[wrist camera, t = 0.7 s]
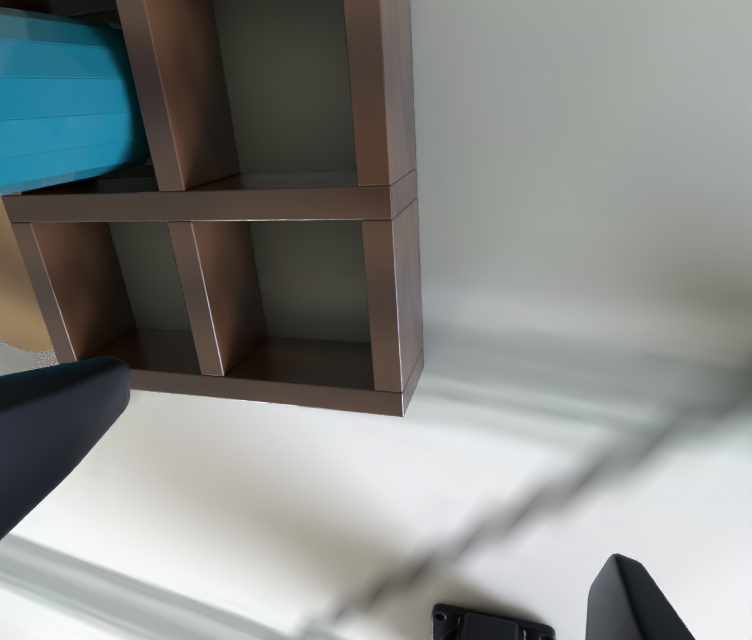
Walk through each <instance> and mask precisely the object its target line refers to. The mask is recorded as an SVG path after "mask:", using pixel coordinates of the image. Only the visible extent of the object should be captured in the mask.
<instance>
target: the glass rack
mask: <svg viewBox="0 0 752 640" xmlns="http://www.w3.org/2000/svg"><path fill="white" fill-rule="evenodd" d="M0 7H4V8H11V9H18V10H25V11H32V12H39V13H46V14H53V15H60V16H66V17H67V16H74V15H81V14H88V13H94V12H101V11H108V10H115V9H118V13H119V18H120V22H121V27H122V31H123V35H124V40H125V44H126V48H127V53H128V57H129V61H130V66H131V70H132V75H133V79H134V83H135V88H136V92H137V96H138V101H139V105H140V109H141V114H142V118H143V122H144V127H145V131H146V136H147V140H148V144H149V149H150V153H151V157H152V162H153V166H154V170H155V175H156V177H150V178H122V179H95V176H94V177H90V178H85V179H80V180H75V181H70V182H65V183H60V184H56V185H51V186H46V187H41V188H36V189H31V190H26V191H22V192H17V193H12V194H7V195H2V196H1V198H2V201H3V204H4V207H5V210H6V213H7V216H8V218H9V221H10V222H11V223H10V225H11V227H12V230H13V233H14V236H15V239H16V242H17V245H18V248H19V250H20V253H21V256H22V259H23V262H24V265H25V268H26V270H27V273H28V276H29V279H30V282H31V285H32V288H33V291H34V293H35V296H36V299H37V302H38V305H39V308H40V311H41V314H42V316H43V319H44V322H45V325H46V328H47V331H48V334H49V337H50V339H51V342H52V345H53V348H54V351H55V354H56V357H57V359H58V362H60V363H59V364H66V363H71V362H76V361H81V360H86V359H92V358H97V357H102V356H112V357H114V358H117V359H120V360H122V361H125V362H126V363H128V364H129V367H130V389H132V390H142V391H152V392H162V393H172V394H182V395H191V396H201V397H211V398H221V399H231V400H241V401H251V402H260V403H270V404H280V405H290V406H300V407H310V408H320V409H330V410H339V411H349V412H359V413H369V414H379V415H389V416H399V417H403V416H404V415H405V412H406V410H407V407H408V405H409V403H410V400H411V398H412V395H413V393H414V390H415V388H416V385H417V383H418V381H419V378H420V376H421V373H422V371H423V368H424V356H423V326H422V300H421V274H420V247H419V221H418V198H417V170H416V142H415V115H414V89H413V63H412V36H411V10H410V0H343V7H344V20H345V32H346V44H347V56H348V69H349V81H350V93H351V105H352V118H353V130H354V142H355V154H356V167H357V170H348V171H319V172H291V173H263V174H240V170H239V164H238V158H237V152H236V146H235V140H234V134H233V128H232V122H231V116H230V110H229V104H228V98H227V92H226V86H225V80H224V74H223V68H222V62H221V56H220V50H219V44H218V38H217V32H216V26H215V20H214V14H213V8H212V2H211V0H0ZM275 220H361V227H362V240H363V252H364V264H365V276H366V289H367V301H368V313H369V325H370V338H371V343H356V342H340V341H324V340H307V339H291V338H275V337H267V332H266V326H265V320H264V314H263V309H262V303H261V297H260V291H259V285H258V279H257V273H256V267H255V261H254V255H253V249H252V243H251V237H250V231H249V225H248V221H275ZM139 221H168V222H167V226H168V230H169V235H170V239H171V243H172V248H173V252H174V256H175V261H176V265H177V269H178V274H179V278H180V283H181V287H182V291H183V296H184V300H185V304H186V309H187V313H188V317H189V322H190V326H191V331H192V332H178V331H162V330H146V329H136V326H135V322H134V319H133V315H132V311H131V308H130V304H129V300H128V297H127V293H126V289H125V286H124V282H123V278H122V275H121V271H120V268H119V264H118V260H117V257H116V253H115V249H114V246H113V242H112V238H111V235H110V231H109V227H108V224H107V222H139Z"/></svg>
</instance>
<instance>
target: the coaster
mask: <svg viewBox="0 0 752 640" xmlns="http://www.w3.org/2000/svg"><path fill="white" fill-rule="evenodd" d="M10 223H11V222H10V221H9V218H8V216H7V213H6V210H5V207H4V204H3V201H2V198H1V196H0V340H2V341H4V342H6V343H8V344H9V345H12V346H14V347H17V348H19V349H23V350H26V351H32V352H47V351H52V350H54V348H53V345H52V342H51V339H50V337H49V334H48V331H47V328H46V325H45V322H44V319H43V316H42V314H41V311H40V308H39V305H38V302H37V299H36V296H35V293H34V291H33V288H32V285H31V282H30V279H29V276H28V273H27V270H26V268H25V265H24V262H23V259H22V256H21V253H20V250H19V248H18V245H17V242H16V239H15V236H14V233H13V230H12V227H11V225H10Z"/></svg>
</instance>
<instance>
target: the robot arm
mask: <svg viewBox="0 0 752 640" xmlns="http://www.w3.org/2000/svg"><path fill="white" fill-rule="evenodd" d="M129 399H130V367H129V364H128V363H126V362H125V361H122V360H120V359H117V358H114V357H112V356H102V357H97V358H92V359H86V360H81V361H76V362H71V363H66V364H60V365H55V366H50V367H45V368H40V369H34V370H29V371H24V372H19V373H14V374H9V375H3V376H0V540H1V539H2V538H4V537H5V536H6V535H7V534H8V533H9V532H10V531H11V530H12V529H13V528H14V527H15V526H16V525H17V524H18V523H19V522H20V521H21V520H22V519H23V518H24V517H25V516H26V515H27V514H29V513H30V512H31V511H32V510H33V509H34V508H35V507H36V506H37V505H38V504H39V503H40V502H41V501H42V500H43V499H44V498H45V497H46V496H47V495H48V494H49V493H50V492H51V491H53V490H54V489H55V488H56V487H57V486H58V485H59V484H60V483H61V482H62V481H63V480H64V479H65V478H66V477H67V476H68V475H69V474H70V473H71V472H72V471H73V469H74V468H75V467H76V466H77V465H78V464H79V463H80V462H81V461H82V459H83V458H84V457H85V456H86V455H87V454H88V452H89V451H90V450H91V449H92V448H93V447H94V445H95V444H96V443H97V442H98V441H99V440H100V438H101V437H102V436H103V435H104V434H105V433H106V431H107V430H108V429H109V428H110V427H111V426H112V424H113V423H114V422H115V421H116V420H117V419H118V418H119V416H120V415H121V414H122V413H123V412H124V410H125V409H126V407H127V405H128V403H129ZM431 618H432V640H556V638H555V630H554V629H553V628H552V627H550V626H548V625H544V624H539V623H534V622H529V621H524V620H519V619H514V618H509V617H504V616H499V615H494V614H489V613H484V612H479V611H474V610H469V609H464V608H459V607H454V606H449V605H444V604H435V605H434V606H433V609H432V614H431ZM585 640H695V638H694V637H693V636H692V634H691V633H690V631H689V630H688V628H687V627H686V626H685V624H684V623H683V621H682V620H681V618H680V617H679V616H678V614H677V613H676V611H675V610H674V609H673V607H672V606H671V604H670V603H669V601H668V600H667V599H666V597H665V596H664V594H663V593H662V592H661V590H660V589H659V587H658V586H657V584H656V583H655V582H654V580H653V579H652V577H651V576H650V574H649V573H648V572H647V570H646V569H645V567H644V566H643V565H642V564H641V563H640V562H638V561H636V560H633V559H631V558H628V557H626V556H623V555H621V554H613V555H611V556H610V557H609V559H608V560H607V562H606V563H605V565H604V566H603V568H602V569H601V571H600V572H599V574H598V576H597V577H596V579H595V580H594V582H593V583H592V585H591V588H590V591H589V595H588V606H587V622H586V639H585Z"/></svg>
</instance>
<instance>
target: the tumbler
mask: <svg viewBox="0 0 752 640" xmlns="http://www.w3.org/2000/svg"><path fill="white" fill-rule="evenodd" d="M152 164H153V162H152V157H151V153H150V149H149V144H148V140H147V136H146V131H145V127H144V122H143V118H142V114H141V109H140V105H139V101H138V96H137V92H136V88H135V83H134V79H133V75H132V70H131V66H130V61H129V57H128V53H127V48H126V44H125V40H124V35H123V31H122V27H121V24H115V23H108V22H101V21H94V20H87V19H80V18H73V17H66V16H60V15H53V14H46V13H39V12H32V11H25V10H18V9H11V8H4V7H0V196H2V195H7V194H12V193H17V192H22V191H26V190H31V189H36V188H41V187H46V186H51V185H56V184H60V183H65V182H70V181H75V180H80V179H85V178H90V177H94V176H99V175H104V174H109V173H114V172H119V171H124V170H128V169H133V168H138V167H143V166H148V165H152Z"/></svg>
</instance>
